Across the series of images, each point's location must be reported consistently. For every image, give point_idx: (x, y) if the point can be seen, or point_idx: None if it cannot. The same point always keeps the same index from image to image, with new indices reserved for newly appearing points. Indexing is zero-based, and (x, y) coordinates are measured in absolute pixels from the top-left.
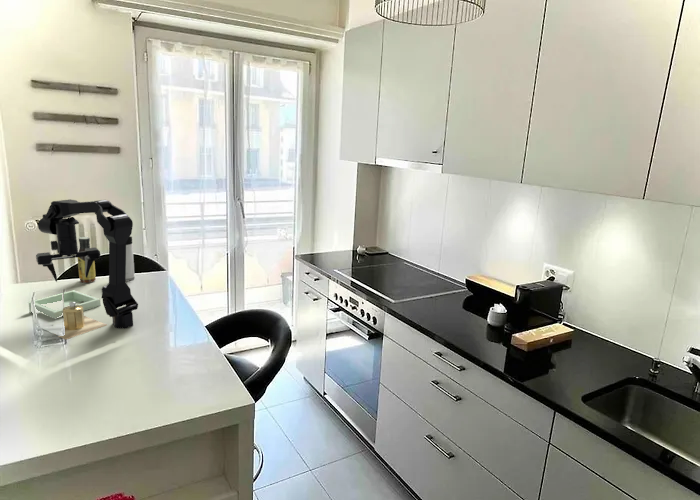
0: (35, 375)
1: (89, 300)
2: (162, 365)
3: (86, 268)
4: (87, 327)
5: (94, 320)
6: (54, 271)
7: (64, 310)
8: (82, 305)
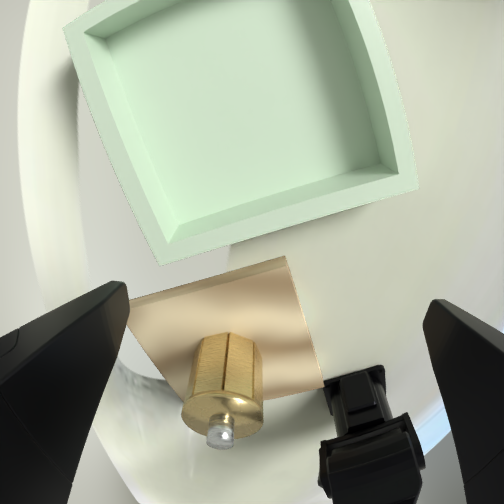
0: (139, 451)
1: (377, 111)
2: (317, 489)
3: (457, 433)
4: (264, 378)
5: (306, 340)
6: (75, 449)
7: (187, 422)
8: (311, 217)
